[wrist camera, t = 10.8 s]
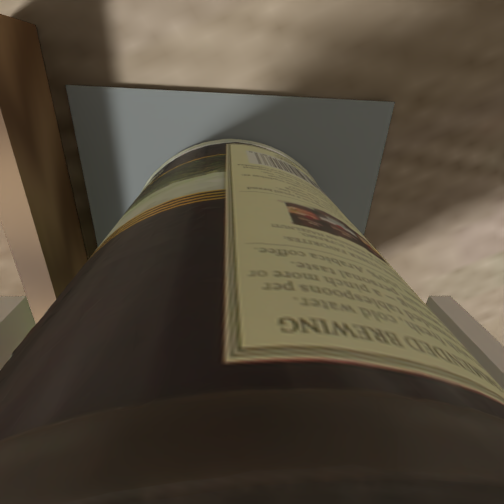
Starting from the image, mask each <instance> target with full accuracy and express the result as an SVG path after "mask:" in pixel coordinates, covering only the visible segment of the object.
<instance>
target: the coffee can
mask: <svg viewBox="0 0 504 504" xmlns="http://www.w3.org/2000/svg"><path fill="white" fill-rule="evenodd" d="M0 504H504V390H503V389H502V388H501V387H500V385H499V384H498V383H497V382H496V381H495V380H494V379H493V378H492V377H491V376H490V374H489V373H488V372H487V371H486V370H485V369H484V368H483V367H482V366H481V365H480V363H479V362H478V361H477V360H476V359H475V358H474V357H473V356H472V355H471V354H470V352H469V351H468V350H467V349H466V348H465V347H464V346H463V345H462V344H461V343H460V342H459V340H458V339H457V338H456V337H455V336H454V335H453V334H452V333H451V332H450V331H449V329H448V328H447V327H446V326H445V325H444V324H443V323H442V322H441V321H440V320H439V319H438V317H437V316H436V315H435V314H434V313H433V312H432V311H431V310H430V309H429V308H428V306H427V305H426V304H425V303H424V302H423V301H422V300H421V299H420V298H419V297H418V295H417V294H416V293H415V292H414V291H413V290H412V289H411V288H410V287H409V286H408V284H407V283H406V282H405V281H404V280H403V279H402V278H401V277H400V276H399V275H398V273H397V272H396V271H395V270H394V269H393V268H392V267H391V266H390V265H389V263H388V262H387V261H386V260H385V259H384V258H383V257H382V256H381V254H380V253H379V252H378V251H377V250H376V249H375V248H374V247H373V246H372V244H371V243H370V242H369V241H368V240H367V239H366V238H365V237H364V236H363V235H362V234H361V233H360V231H359V230H358V229H357V228H356V227H355V226H354V225H353V224H352V223H351V222H350V221H349V220H348V219H347V218H346V216H345V215H344V214H343V213H342V212H341V211H340V210H339V209H338V207H337V206H336V205H335V204H334V203H333V202H332V201H331V200H330V199H329V198H328V196H327V195H326V194H325V193H324V192H323V191H322V190H321V189H320V188H319V186H318V185H317V183H316V181H315V180H314V179H313V177H312V176H311V175H310V174H309V172H308V171H307V170H306V169H305V168H304V167H302V166H301V165H300V164H299V163H298V162H297V161H295V160H294V159H293V158H291V157H290V156H288V155H287V154H285V153H283V152H282V151H280V150H277V149H275V148H273V147H271V146H268V145H265V144H262V143H258V142H254V141H248V140H241V139H221V140H215V141H208V142H204V143H201V144H198V145H195V146H192V147H190V148H187V149H185V150H183V151H181V152H179V153H178V154H176V155H175V156H173V157H172V158H170V159H169V160H168V161H166V162H165V163H164V164H163V165H162V166H160V167H159V168H158V169H157V170H156V171H155V172H154V173H153V174H152V176H151V177H150V178H149V180H148V181H147V182H146V184H145V186H144V188H143V189H142V191H141V193H140V194H139V196H138V197H137V198H136V199H135V201H134V202H133V203H132V205H131V206H130V207H129V208H128V210H127V211H126V212H125V214H124V215H123V216H122V218H121V219H120V220H119V222H118V223H117V224H116V225H115V227H114V228H113V229H112V230H111V232H110V233H109V234H108V235H107V237H106V238H105V239H104V240H103V242H102V243H101V244H100V245H99V247H98V248H97V249H96V250H95V252H94V253H93V254H92V256H91V257H90V258H89V259H88V260H87V262H86V263H85V264H84V265H83V267H82V268H81V269H80V270H79V272H78V273H77V274H76V276H75V277H74V278H73V279H72V281H71V282H70V283H69V284H68V285H67V286H66V288H65V289H64V291H63V292H62V293H61V294H60V295H59V296H58V298H57V299H56V301H55V302H54V303H53V304H52V305H51V306H50V307H49V309H48V310H47V311H46V312H45V314H44V316H43V317H42V318H41V319H40V320H39V321H38V323H37V324H36V325H35V326H34V327H33V328H32V329H31V330H30V331H29V333H28V334H27V335H26V337H25V338H24V339H23V341H22V342H21V343H20V344H19V345H18V346H17V348H16V349H15V350H14V351H13V352H12V354H11V356H10V358H9V360H8V361H7V362H6V364H5V365H4V366H3V368H2V369H1V370H0Z"/></svg>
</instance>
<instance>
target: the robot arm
mask: <svg viewBox="0 0 504 504" xmlns="http://www.w3.org/2000/svg"><path fill="white" fill-rule="evenodd" d="M426 305H427V306H428V308H429V309H430V310H431V311H432V312H433V313H434V314H435V315H436V316H437V317H438V319H439V320H440V321H441V322H442V323H443V324H444V325H445V326H446V327H447V328H448V329H449V331H450V332H451V333H452V334H453V335H454V336H455V337H456V338H457V339H458V340H459V342H460V343H461V344H462V345H463V346H464V347H465V348H466V349H467V350H468V351H469V352H470V354H471V355H472V356H473V357H474V358H475V359H476V360H477V361H478V362H479V363H480V365H481V366H482V367H483V368H484V369H485V370H486V371H487V372H488V373H489V374H490V376H491V377H492V378H493V379H494V380H495V381H496V382H497V383H498V384H499V385H500V387H501V388H502V389H503V390H504V346H503V345H502V344H501V343H500V342H499V341H497V340H496V339H495V338H494V337H493V336H492V335H491V334H490V333H489V332H488V331H487V330H486V329H485V328H484V327H483V326H482V325H481V324H479V323H478V322H477V321H476V320H475V319H474V318H473V317H472V316H471V315H470V314H469V313H468V312H467V311H466V310H465V309H464V308H463V307H461V306H460V305H459V304H458V303H457V302H456V301H455V300H454V299H453V298H452V297H451V296H429V298H428V300H427V303H426ZM35 325H36V323H35V321H34V318H33V315H32V312H31V309H30V306H29V303H28V300H27V298H26V296H0V370H1V369H2V368H3V366H4V365H5V364H6V362H7V361H8V360H9V358H10V356H11V354H12V352H13V351H14V350H15V349H16V348H17V346H18V345H19V344H20V343H21V342H22V341H23V339H24V338H25V337H26V335H27V334H28V333H29V331H30V330H31V329H32V328H33V327H34V326H35Z"/></svg>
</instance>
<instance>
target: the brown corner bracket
mask: <svg viewBox="0 0 504 504" xmlns="http://www.w3.org/2000/svg"><path fill="white" fill-rule="evenodd" d="M0 221H1V224H2V227H3V230H4V233H5V236H6V238H7V241H8V244H9V247H10V250H11V253H12V256H13V259H14V262H15V264H16V267H17V270H18V273H19V276H20V279H21V282H22V285H23V288H24V291H25V293H26V296H27V299H28V302H29V305H30V308H31V311H32V314H33V317H34V319H35V322H36V324H37V323H38V321H39V320H40V319H41V318H42V317H43V316H44V314H45V312H46V311H47V310H48V309H49V307H50V306H51V305H52V304H53V303H54V302H55V301H56V299H57V298H58V296H59V295H60V294H61V293H62V292H63V291H64V289H65V288H66V286H67V285H68V284H69V283H70V282H71V281H72V279H73V278H74V277H75V276H76V274H77V273H78V272H79V270H80V269H81V268H82V267H83V265H84V264H85V263H86V262H87V260H88V259H87V255H86V250H85V246H84V241H83V237H82V232H81V228H80V223H79V219H78V214H77V210H76V205H75V201H74V196H73V192H72V187H71V183H70V178H69V174H68V169H67V165H66V160H65V156H64V151H63V147H62V142H61V138H60V133H59V129H58V124H57V120H56V115H55V111H54V106H53V102H52V97H51V93H50V88H49V84H48V79H47V75H46V70H45V66H44V61H43V57H42V52H41V48H40V43H39V39H38V34H37V30H36V25H34V24H31V23H28V22H24V21H21V20H18V19H15V18H12V17H9V16H5V15H2V14H0Z"/></svg>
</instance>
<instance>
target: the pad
mask: <svg viewBox="0 0 504 504" xmlns="http://www.w3.org/2000/svg"><path fill="white" fill-rule="evenodd" d="M66 90H67V95H68V100H69V105H70V110H71V115H72V120H73V125H74V130H75V135H76V140H77V145H78V150H79V155H80V160H81V165H82V170H83V175H84V180H85V185H86V190H87V195H88V200H89V205H90V210H91V215H92V220H93V225H94V230H95V235H96V240H97V245H98V247H99V245H100V244H101V243H102V242H103V240H104V239H105V238H106V237H107V235H108V234H109V233H110V232H111V230H112V229H113V228H114V227H115V225H116V224H117V223H118V222H119V220H120V219H121V218H122V216H123V215H124V214H125V212H126V211H127V210H128V208H129V207H130V206H131V205H132V203H133V202H134V201H135V199H136V198H137V197H138V196H139V194H140V193H141V191H142V189H143V188H144V186H145V184H146V182H147V181H148V180H149V178H150V177H151V176H152V174H153V173H154V172H155V171H156V170H157V169H158V168H159V167H160V166H162V165H163V164H164V163H165V162H166V161H168V160H169V159H170V158H172V157H173V156H175V155H176V154H178V153H179V152H181V151H183V150H185V149H187V148H190V147H192V146H195V145H198V144H201V143H204V142H208V141H215V140H221V139H241V140H248V141H254V142H258V143H262V144H265V145H268V146H271V147H273V148H275V149H277V150H280V151H282V152H283V153H285V154H287V155H288V156H290V157H291V158H293V159H294V160H295V161H297V162H298V163H299V164H300V165H301V166H302V167H304V168H305V169H306V170H307V171H308V172H309V174H310V175H311V176H312V177H313V179H314V180H315V181H316V183H317V185H318V186H319V188H320V189H321V190H322V191H323V192H324V193H325V194H326V195H327V196H328V198H329V199H330V200H331V201H332V202H333V203H334V204H335V205H336V206H337V207H338V209H339V210H340V211H341V212H342V213H343V214H344V215H345V216H346V218H347V219H348V220H349V221H350V222H351V223H352V224H353V225H354V226H355V227H356V228H357V229H358V230H359V231H360V233H361V234H362V235H363V236H364V232H365V228H366V224H367V220H368V215H369V211H370V207H371V202H372V198H373V194H374V190H375V185H376V181H377V177H378V172H379V168H380V164H381V159H382V155H383V151H384V147H385V142H386V138H387V134H388V129H389V125H390V121H391V117H392V112H393V108H394V104H395V102H387V101H368V100H348V99H329V98H310V97H291V96H272V95H252V94H233V93H214V92H195V91H176V90H156V89H137V88H118V87H99V86H80V85H66Z"/></svg>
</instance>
